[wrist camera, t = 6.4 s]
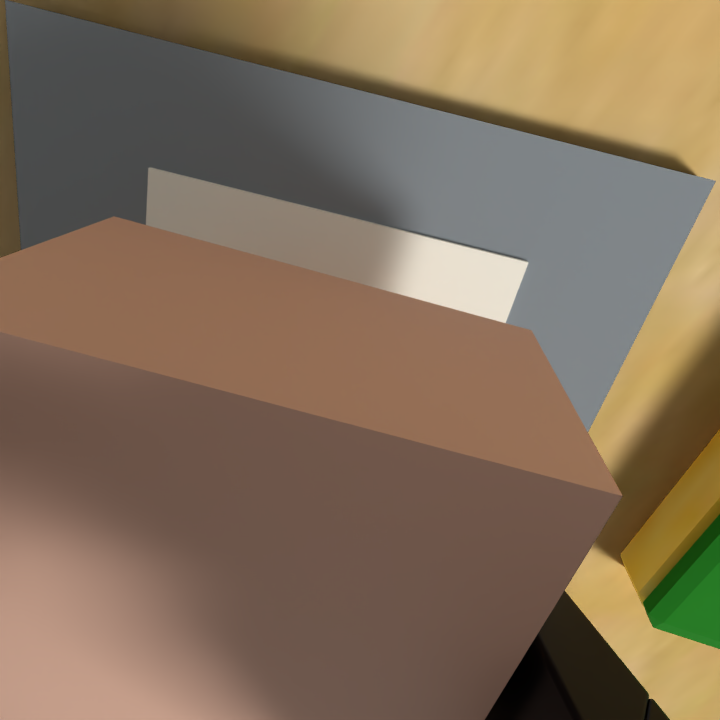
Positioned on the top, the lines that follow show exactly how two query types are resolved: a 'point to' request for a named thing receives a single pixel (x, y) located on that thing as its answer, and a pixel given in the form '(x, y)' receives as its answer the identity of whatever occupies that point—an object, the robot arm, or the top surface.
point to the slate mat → (345, 187)
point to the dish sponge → (683, 554)
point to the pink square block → (270, 490)
